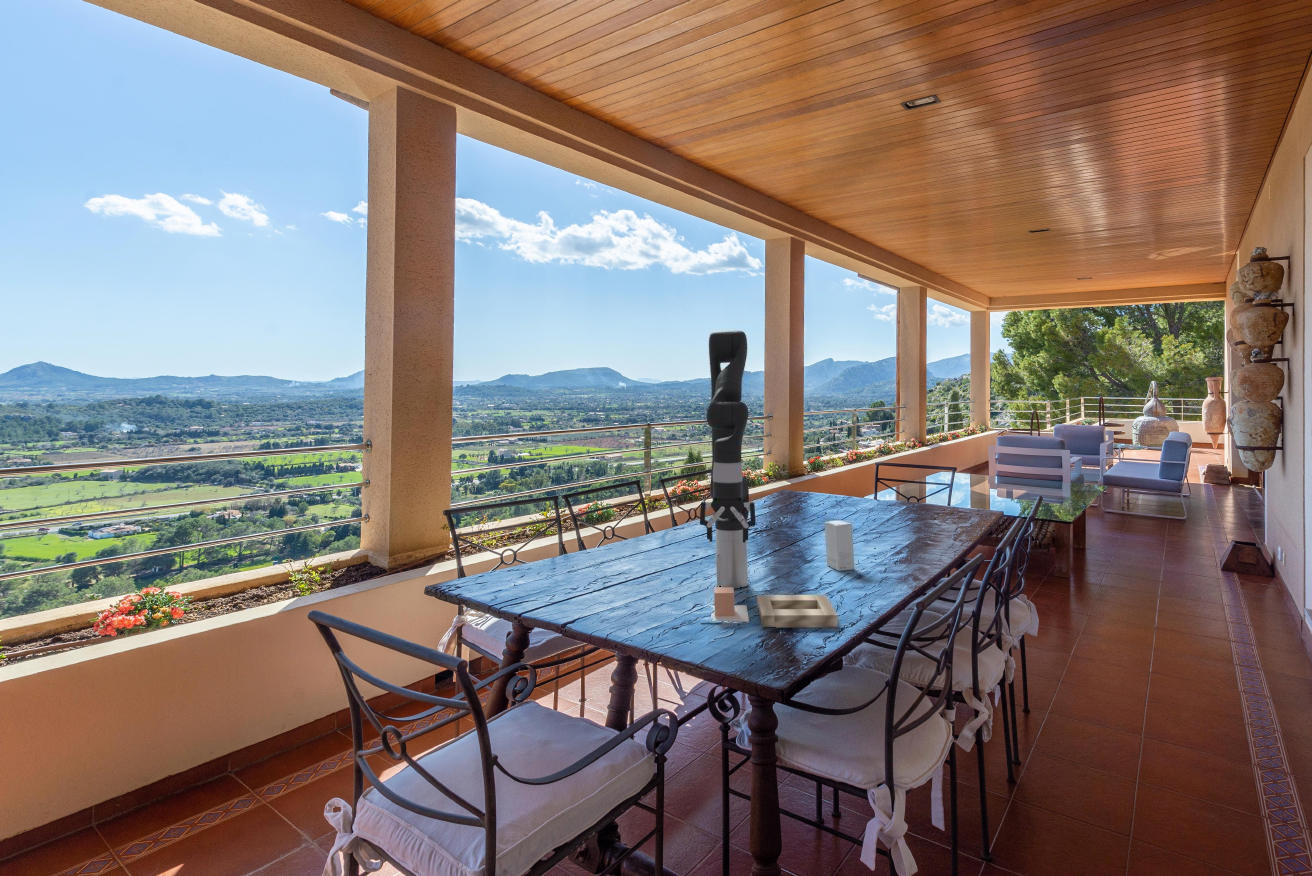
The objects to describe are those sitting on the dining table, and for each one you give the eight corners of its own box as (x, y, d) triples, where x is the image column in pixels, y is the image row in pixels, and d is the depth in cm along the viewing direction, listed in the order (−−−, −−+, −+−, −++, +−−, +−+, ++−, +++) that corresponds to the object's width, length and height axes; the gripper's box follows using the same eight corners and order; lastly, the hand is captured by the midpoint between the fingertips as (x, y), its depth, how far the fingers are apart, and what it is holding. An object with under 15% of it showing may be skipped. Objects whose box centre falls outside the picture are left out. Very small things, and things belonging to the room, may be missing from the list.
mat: (700, 623, 160) (700, 621, 160) (701, 607, 172) (701, 605, 172) (749, 623, 159) (748, 620, 159) (746, 607, 171) (746, 605, 171)
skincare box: (854, 570, 204) (854, 523, 203) (837, 571, 203) (836, 525, 202) (841, 563, 212) (840, 519, 211) (824, 565, 211) (824, 520, 210)
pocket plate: (762, 627, 156) (761, 615, 156) (757, 606, 172) (757, 595, 172) (837, 627, 155) (837, 615, 154) (825, 605, 171) (825, 594, 170)
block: (714, 616, 164) (714, 593, 163) (714, 609, 169) (714, 587, 168) (734, 616, 163) (734, 592, 163) (734, 609, 168) (733, 587, 168)
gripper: (699, 481, 162) (699, 544, 163) (756, 481, 160) (756, 545, 161) (700, 477, 169) (700, 537, 170) (755, 477, 168) (754, 538, 169)
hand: (727, 541), depth 166 cm, fingers open, 8 cm apart
